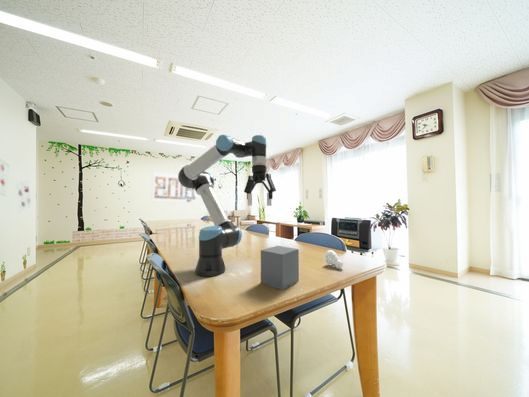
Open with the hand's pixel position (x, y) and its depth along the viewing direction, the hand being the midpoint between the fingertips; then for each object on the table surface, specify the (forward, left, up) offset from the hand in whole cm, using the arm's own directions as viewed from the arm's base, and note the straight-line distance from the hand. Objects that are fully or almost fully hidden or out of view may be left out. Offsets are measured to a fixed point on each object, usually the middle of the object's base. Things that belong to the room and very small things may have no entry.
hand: (259, 205), depth 107 cm
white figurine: (+27, +34, -35) cm, 56 cm away
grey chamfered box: (+16, -4, -35) cm, 38 cm away
